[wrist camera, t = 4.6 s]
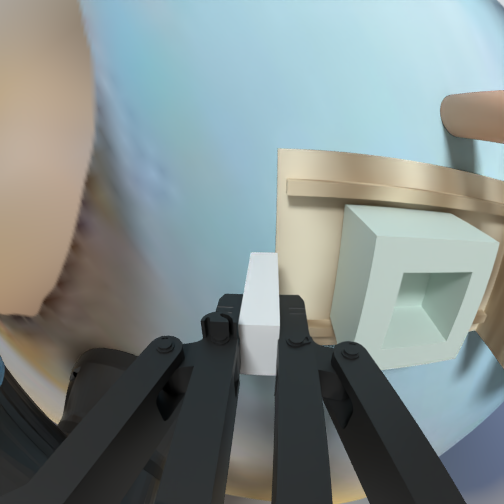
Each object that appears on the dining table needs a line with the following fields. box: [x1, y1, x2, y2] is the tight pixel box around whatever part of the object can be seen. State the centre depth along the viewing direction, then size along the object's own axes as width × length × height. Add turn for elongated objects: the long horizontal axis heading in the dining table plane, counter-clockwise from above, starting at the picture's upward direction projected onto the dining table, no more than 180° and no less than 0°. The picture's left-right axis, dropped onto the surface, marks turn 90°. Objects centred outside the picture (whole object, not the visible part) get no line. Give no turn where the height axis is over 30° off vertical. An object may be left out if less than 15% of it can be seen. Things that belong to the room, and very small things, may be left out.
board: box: [275, 148, 504, 369], centre depth 15 cm, size 22×14×8 cm, turn 90°
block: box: [330, 204, 500, 370], centre depth 15 cm, size 8×8×6 cm
